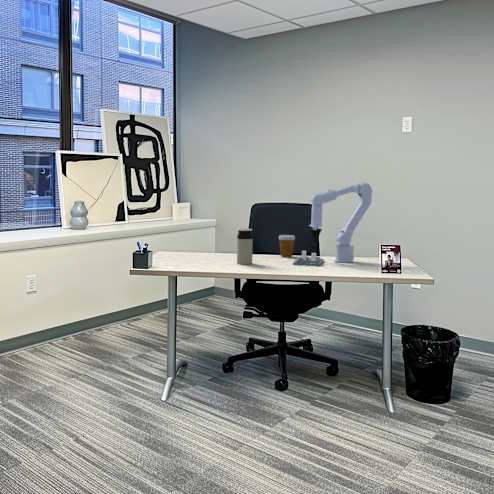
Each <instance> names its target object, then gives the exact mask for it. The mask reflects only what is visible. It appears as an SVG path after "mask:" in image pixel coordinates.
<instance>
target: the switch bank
mask: <svg viewBox="0 0 494 494" xmlns="http://www.w3.org/2000/svg"><path fill="white" fill-rule="evenodd" d="M306 257H307V258H306V259H305V260H301V258H302V255H301V256H299V257H297V258H296V259H295V260H294V261H293V262H292V265H293V266H303V265H306V266H308V267H321V266H322V264H323V263H324V259H325V258H321V256H316V261H311V257H310V256H307V255H306Z"/></svg>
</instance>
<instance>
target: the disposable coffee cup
mask: <svg viewBox="0 0 494 494" xmlns="http://www.w3.org/2000/svg"><path fill="white" fill-rule="evenodd" d="M278 240H279V249H280V257H281V258H293V253H294V245H295V240H296V236H295V235H294V234H293V235H292V234H280V235H279V236H278Z"/></svg>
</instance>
